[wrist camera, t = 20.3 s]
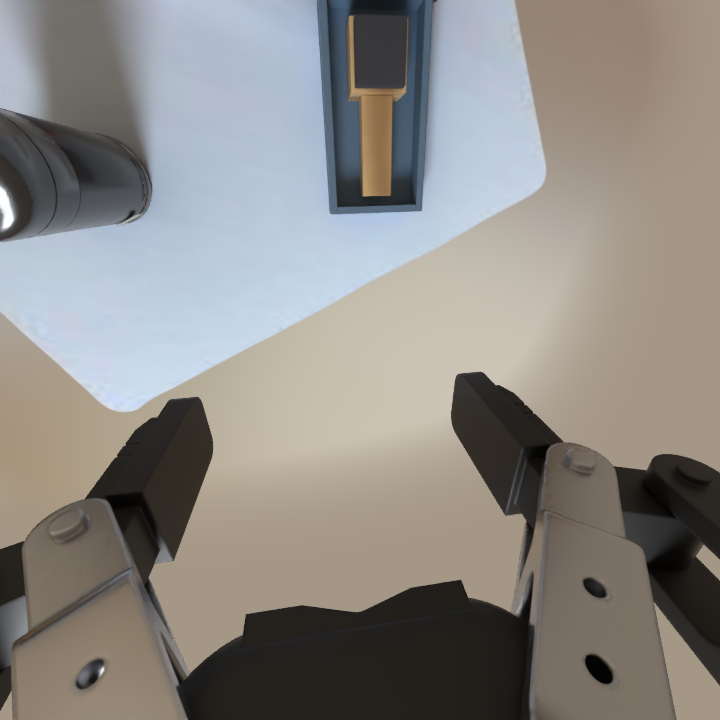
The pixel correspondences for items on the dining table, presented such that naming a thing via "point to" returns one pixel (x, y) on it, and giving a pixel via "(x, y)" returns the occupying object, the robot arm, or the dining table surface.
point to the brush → (376, 91)
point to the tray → (343, 115)
